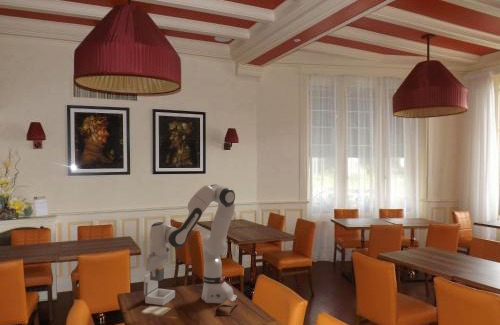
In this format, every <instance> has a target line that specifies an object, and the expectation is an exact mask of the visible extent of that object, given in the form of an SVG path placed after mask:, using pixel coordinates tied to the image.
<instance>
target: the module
mask: <svg viewBox="0 0 500 325" xmlns="http://www.w3.org/2000/svg"><path fill="white" fill-rule="evenodd" d="M155 272H156V276H155V277H153V276H152V272H151V271H149V274H150V280H154V281H158V282H161V281H162V280H164V279H165V265H163V266H161V267H159V268H157V269H156V271H155Z"/></svg>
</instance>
